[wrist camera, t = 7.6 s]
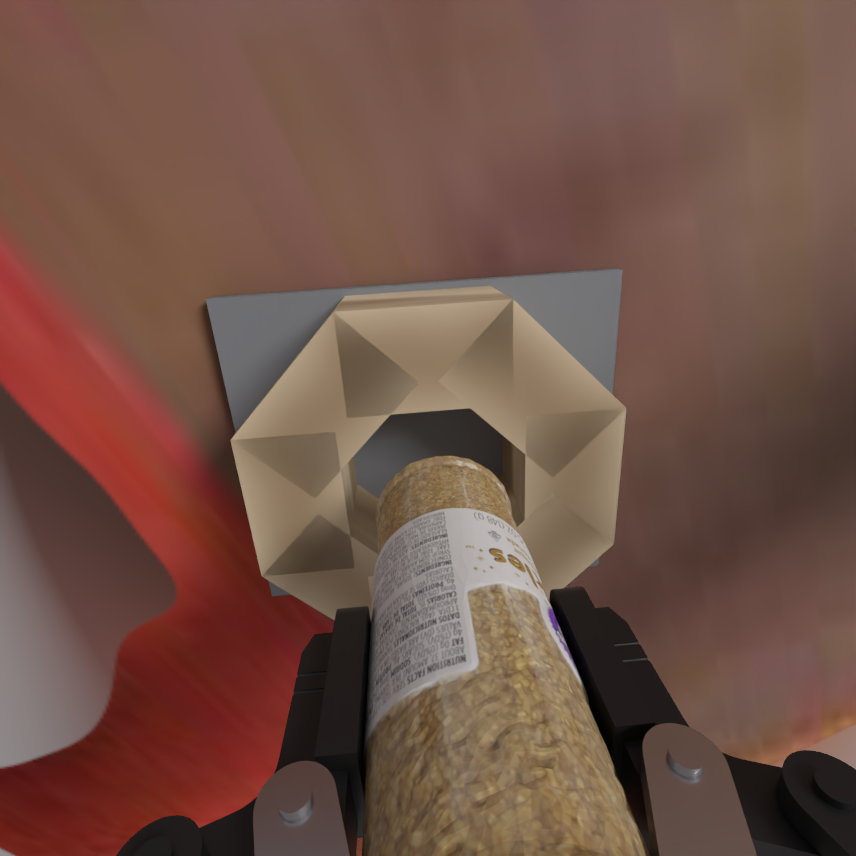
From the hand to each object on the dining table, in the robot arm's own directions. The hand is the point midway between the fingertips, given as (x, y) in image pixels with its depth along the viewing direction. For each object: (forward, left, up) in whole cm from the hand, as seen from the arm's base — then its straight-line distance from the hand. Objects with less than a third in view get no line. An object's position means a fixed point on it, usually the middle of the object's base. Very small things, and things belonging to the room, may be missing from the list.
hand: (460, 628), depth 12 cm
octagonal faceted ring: (0, 0, -10) cm, 10 cm away
